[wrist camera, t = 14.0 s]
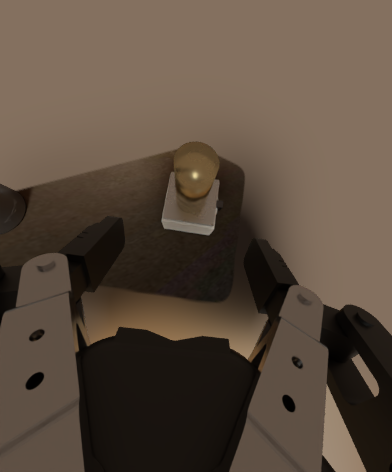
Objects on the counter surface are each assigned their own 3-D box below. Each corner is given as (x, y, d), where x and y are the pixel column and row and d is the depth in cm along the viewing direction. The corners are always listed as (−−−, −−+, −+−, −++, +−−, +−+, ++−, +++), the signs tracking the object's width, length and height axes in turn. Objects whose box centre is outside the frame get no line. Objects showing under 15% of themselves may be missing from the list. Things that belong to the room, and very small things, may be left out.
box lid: (165, 224, 31) (162, 217, 27) (172, 184, 33) (171, 171, 28) (215, 232, 31) (221, 226, 27) (220, 192, 33) (225, 181, 29)
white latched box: (164, 228, 32) (161, 221, 28) (171, 187, 34) (170, 173, 29) (210, 235, 33) (215, 229, 28) (215, 194, 35) (220, 182, 30)
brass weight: (174, 211, 27) (171, 180, 17) (177, 183, 28) (176, 138, 18) (204, 214, 27) (217, 185, 18) (206, 187, 28) (220, 145, 19)
